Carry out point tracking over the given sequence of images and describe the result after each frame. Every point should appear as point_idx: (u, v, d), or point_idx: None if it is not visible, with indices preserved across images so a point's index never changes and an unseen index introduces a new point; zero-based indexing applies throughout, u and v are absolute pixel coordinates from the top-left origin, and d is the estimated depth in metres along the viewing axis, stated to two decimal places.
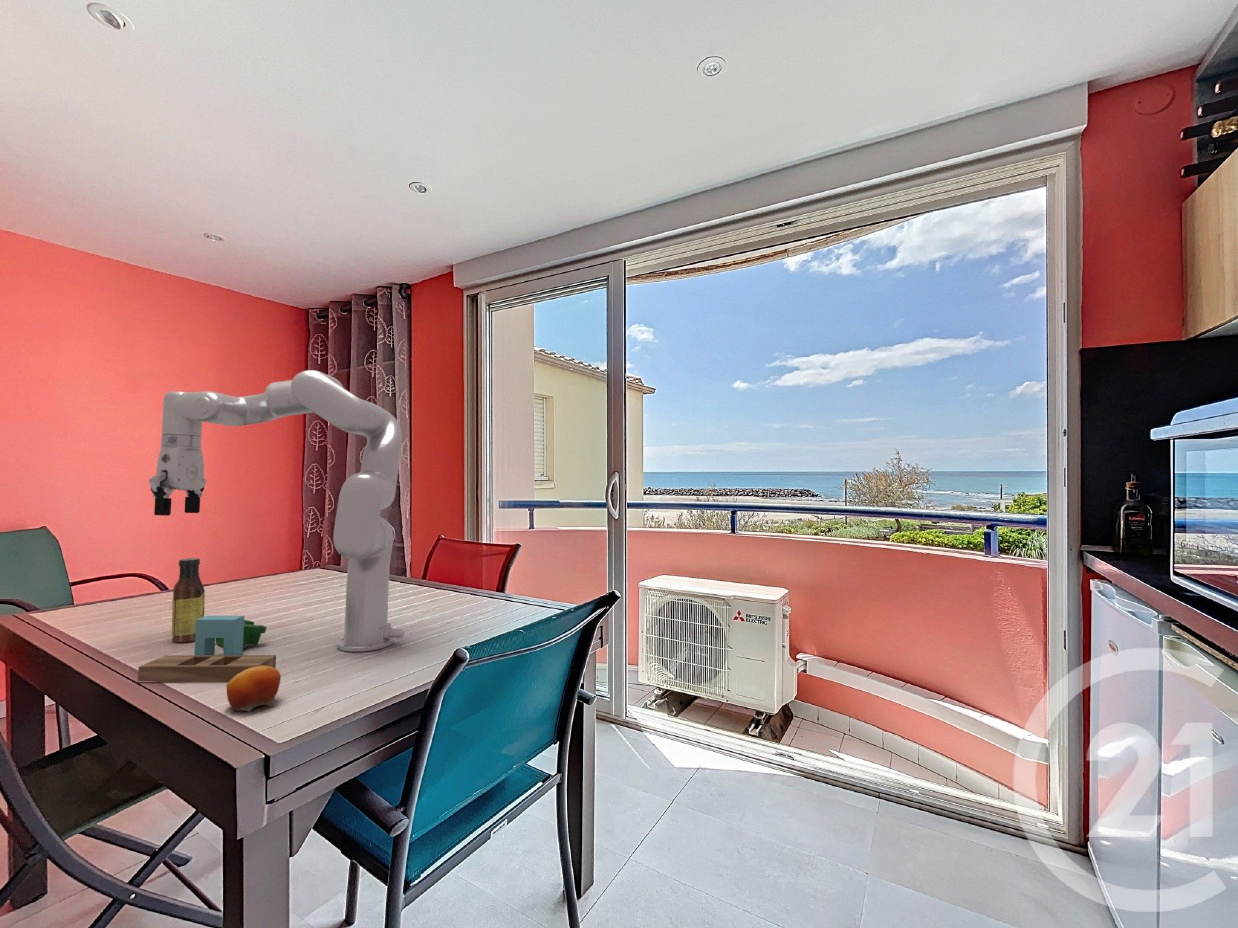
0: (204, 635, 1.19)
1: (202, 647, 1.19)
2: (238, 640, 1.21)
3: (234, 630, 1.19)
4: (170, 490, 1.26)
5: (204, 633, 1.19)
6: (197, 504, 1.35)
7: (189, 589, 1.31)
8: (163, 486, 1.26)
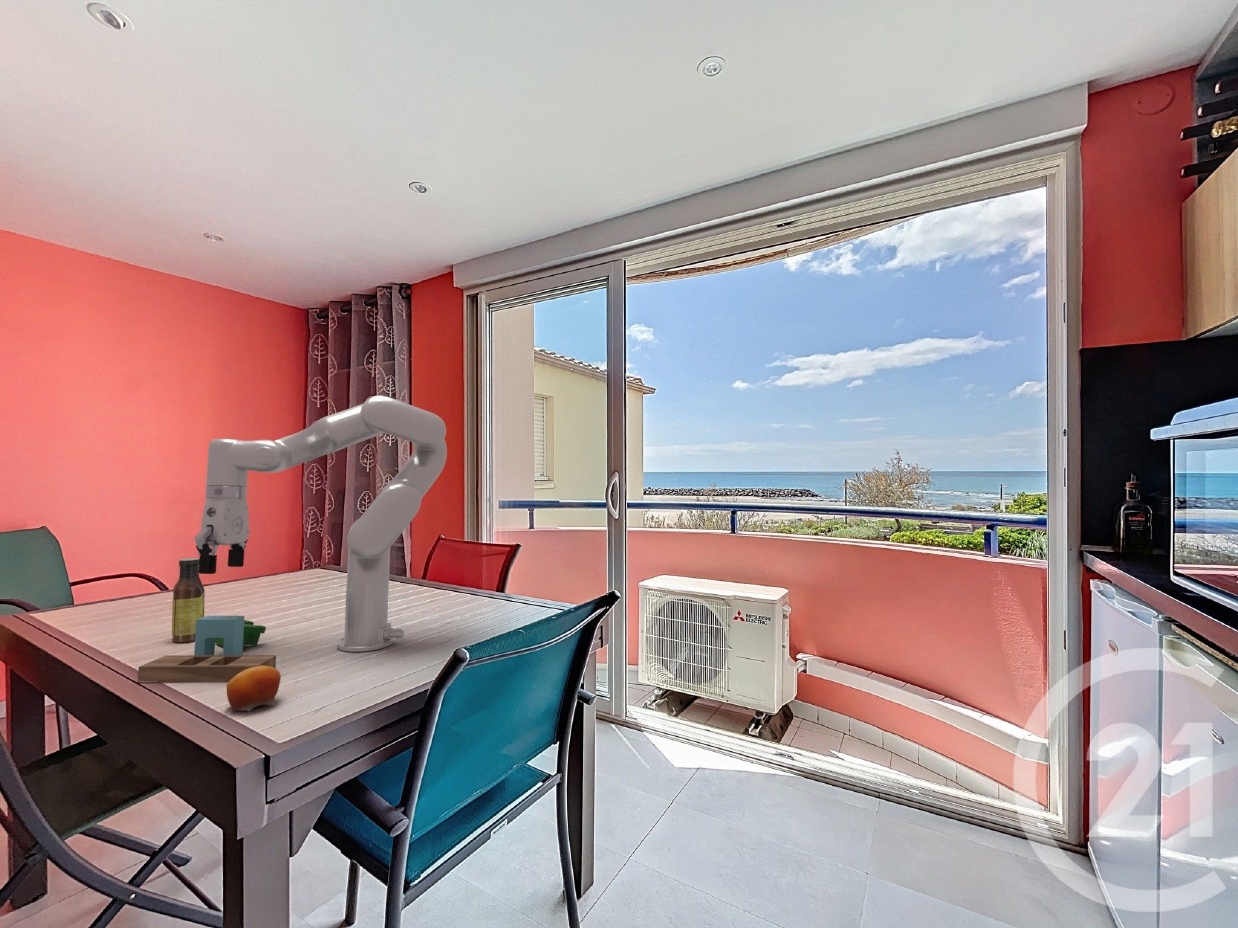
0: (204, 635, 1.19)
1: (202, 647, 1.19)
2: (238, 640, 1.21)
3: (234, 630, 1.19)
4: (216, 546, 1.17)
5: (204, 633, 1.19)
6: (241, 557, 1.26)
7: (189, 589, 1.31)
8: (208, 542, 1.17)
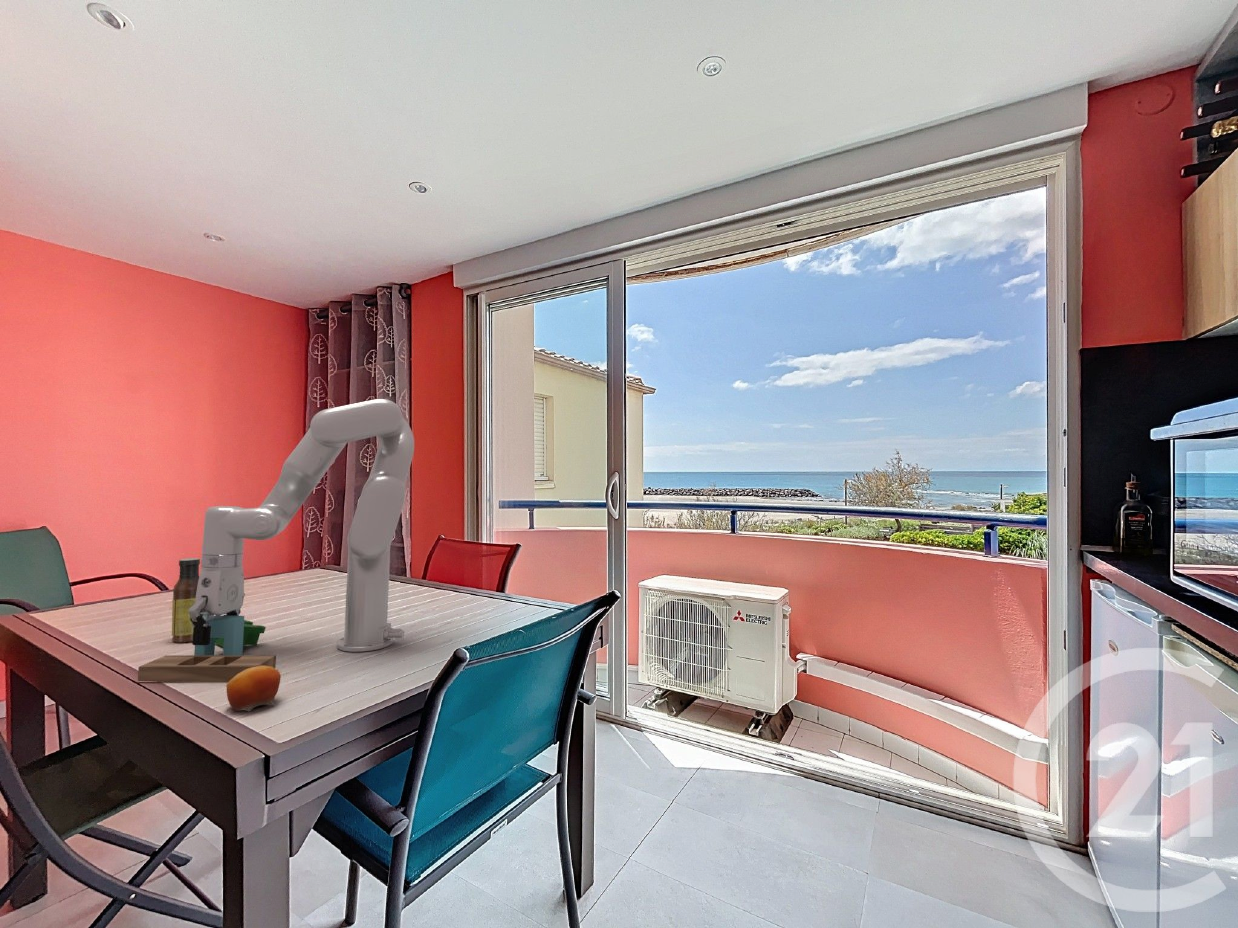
0: None
1: (202, 647, 1.19)
2: (238, 640, 1.21)
3: (234, 630, 1.19)
4: (210, 617, 1.16)
5: None
6: None
7: (189, 589, 1.31)
8: (202, 612, 1.16)
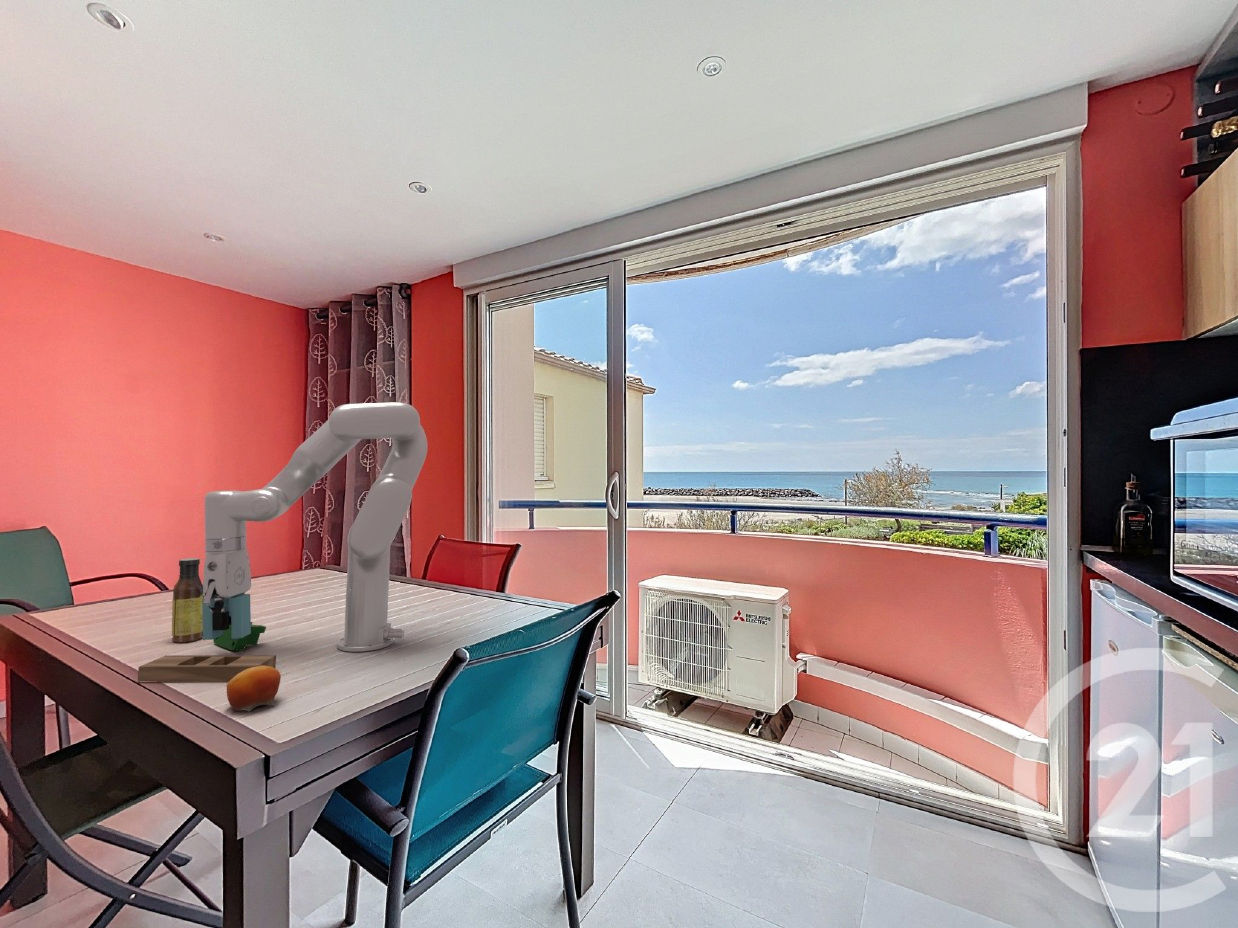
0: (211, 614, 1.19)
1: (210, 626, 1.19)
2: (245, 618, 1.22)
3: (241, 607, 1.20)
4: (225, 602, 1.19)
5: None
6: None
7: (189, 589, 1.31)
8: None
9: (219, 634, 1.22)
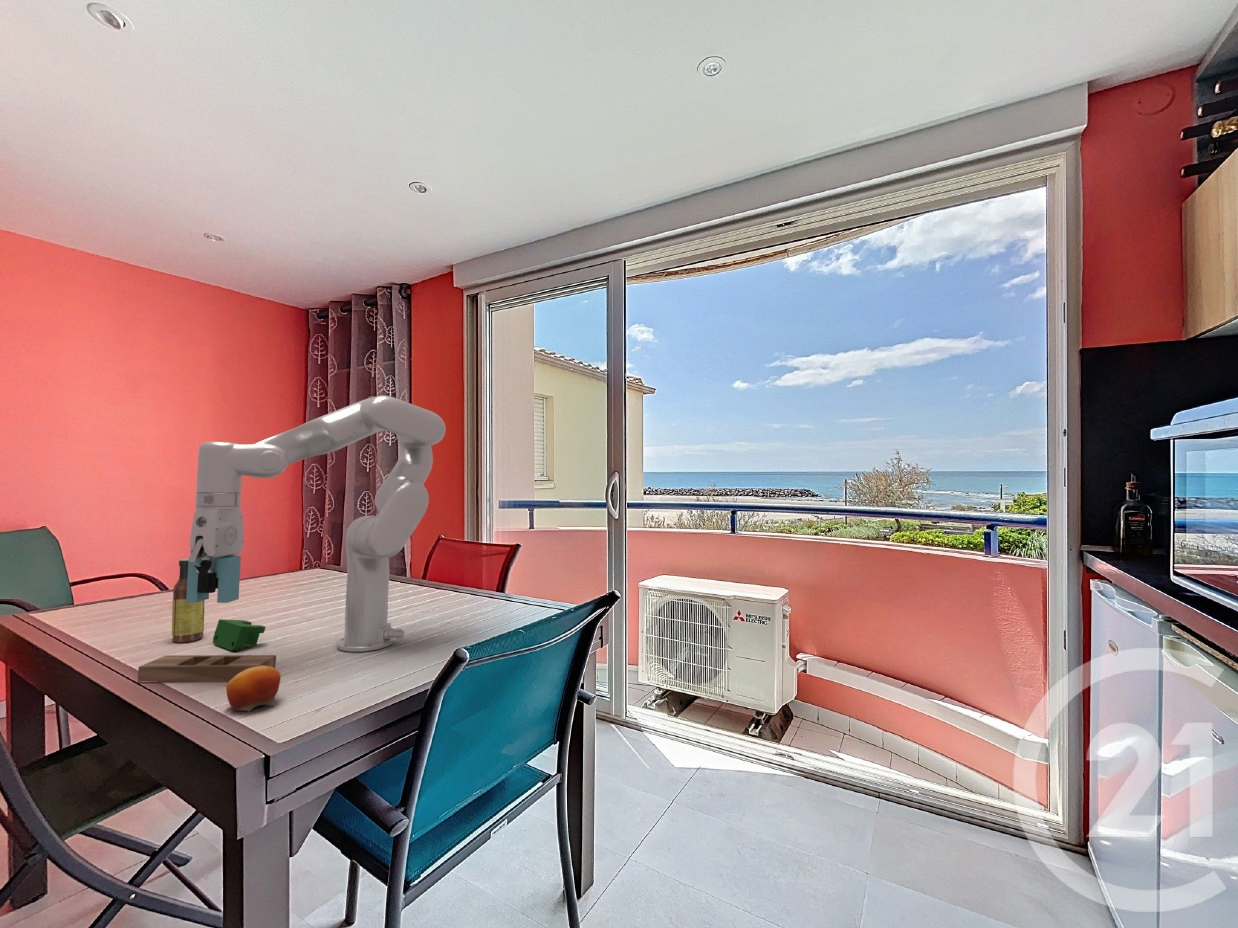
0: (196, 574, 1.09)
1: (194, 588, 1.09)
2: (234, 581, 1.12)
3: (229, 569, 1.10)
4: (213, 562, 1.09)
5: None
6: None
7: None
8: None
9: (204, 598, 1.12)
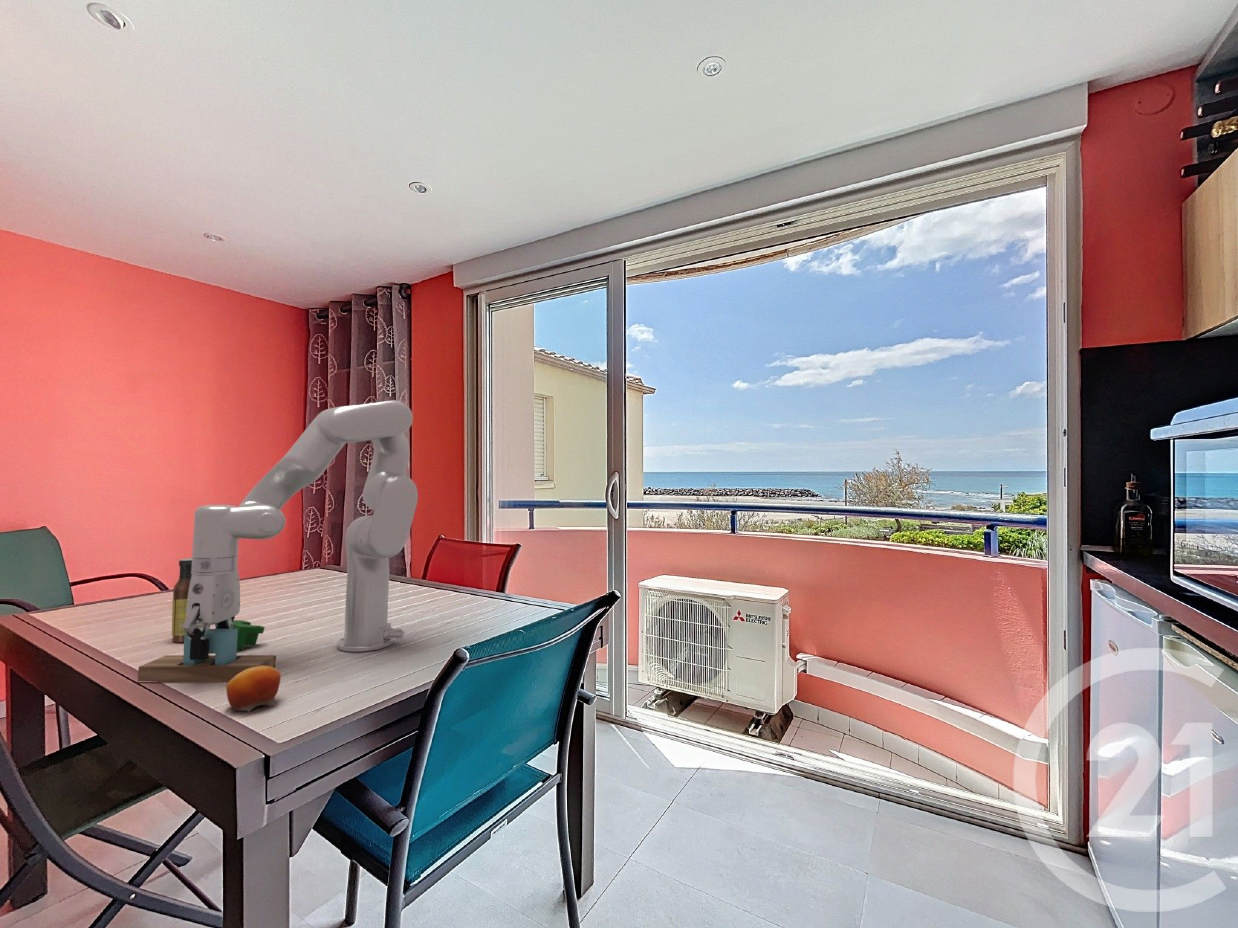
0: None
1: (191, 664, 1.08)
2: (231, 656, 1.11)
3: (227, 644, 1.09)
4: (207, 629, 1.07)
5: None
6: None
7: None
8: None
9: None
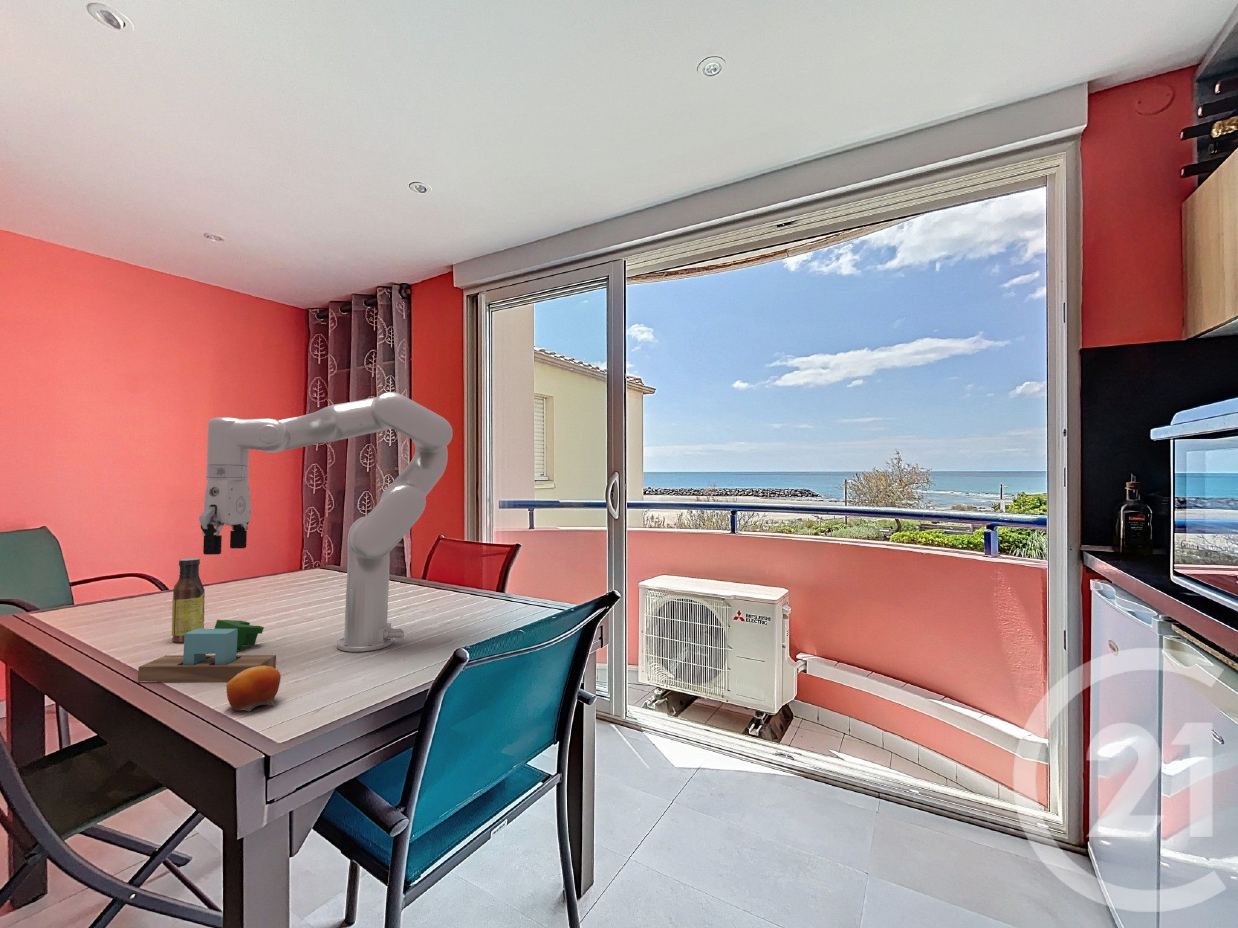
0: (193, 650, 1.08)
1: (191, 664, 1.08)
2: (231, 656, 1.11)
3: (227, 644, 1.09)
4: (220, 526, 1.15)
5: (194, 648, 1.08)
6: (244, 539, 1.24)
7: (189, 589, 1.31)
8: (212, 522, 1.15)
9: None
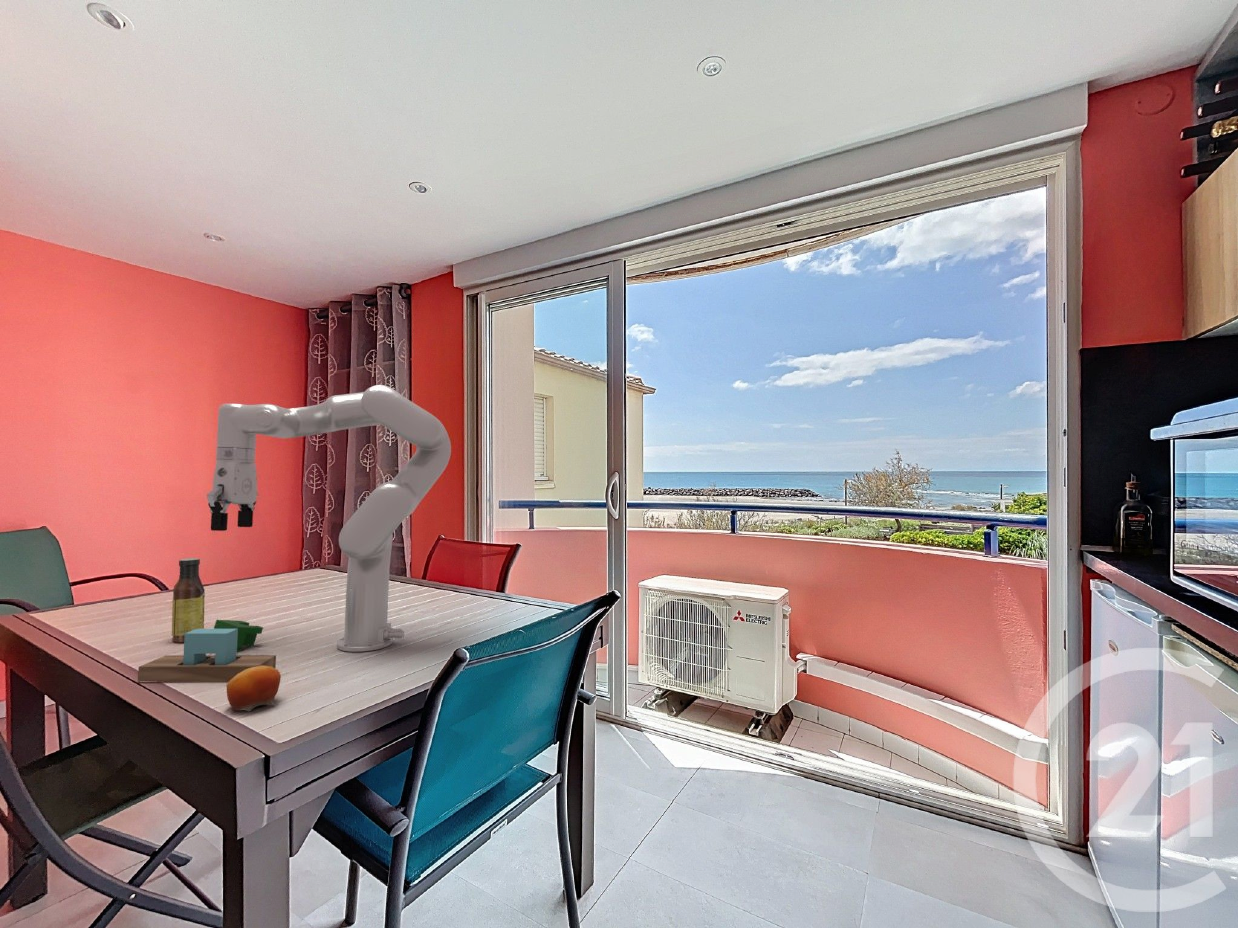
0: (193, 650, 1.08)
1: (191, 664, 1.08)
2: (231, 656, 1.11)
3: (227, 644, 1.09)
4: (226, 505, 1.23)
5: (194, 648, 1.08)
6: (250, 518, 1.32)
7: (189, 589, 1.31)
8: (219, 501, 1.23)
9: None
